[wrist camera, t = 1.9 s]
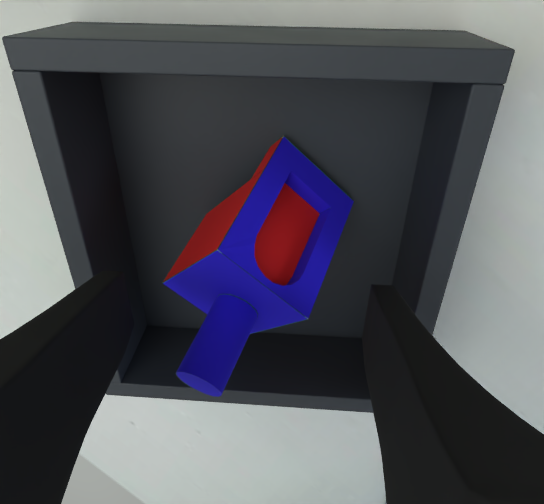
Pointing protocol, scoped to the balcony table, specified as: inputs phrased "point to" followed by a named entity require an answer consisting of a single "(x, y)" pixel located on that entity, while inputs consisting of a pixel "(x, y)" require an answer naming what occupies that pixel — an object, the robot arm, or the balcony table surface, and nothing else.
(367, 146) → the tote
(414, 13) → the balcony table surface
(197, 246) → the toy building block
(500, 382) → the balcony table surface
